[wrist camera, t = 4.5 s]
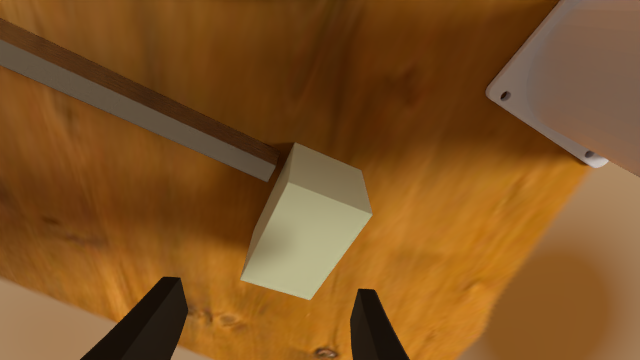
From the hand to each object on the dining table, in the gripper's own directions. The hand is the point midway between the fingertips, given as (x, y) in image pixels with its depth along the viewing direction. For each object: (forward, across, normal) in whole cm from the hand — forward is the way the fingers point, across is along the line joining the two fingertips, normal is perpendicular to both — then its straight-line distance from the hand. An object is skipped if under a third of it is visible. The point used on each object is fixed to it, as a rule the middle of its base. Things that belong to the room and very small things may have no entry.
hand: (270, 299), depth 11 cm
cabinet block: (+9, -1, +1) cm, 9 cm away
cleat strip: (+8, +8, -5) cm, 13 cm away
